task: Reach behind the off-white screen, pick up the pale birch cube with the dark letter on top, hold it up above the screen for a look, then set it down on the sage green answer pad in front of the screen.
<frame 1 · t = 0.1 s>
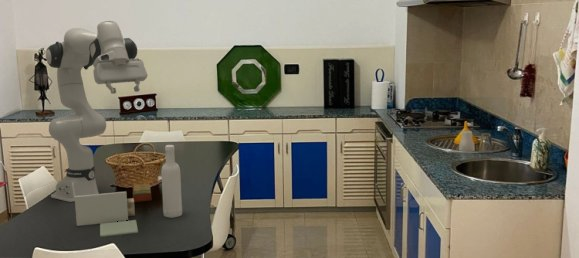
hand: (125, 92, 223), 54 cm above the table, tool tilted 30°, fingers open, 8 cm apart
carton: (142, 197, 275), on the table
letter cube: (127, 214, 249), on the table
screen: (102, 222, 239), on the table
answer pad: (118, 228, 231), on the table
bottle: (172, 215, 248), on the table
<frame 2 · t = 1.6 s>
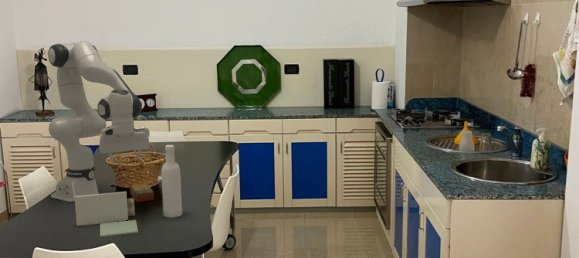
hand: (126, 161, 243), 23 cm above the table, tool pointing down, fingers open, 8 cm apart
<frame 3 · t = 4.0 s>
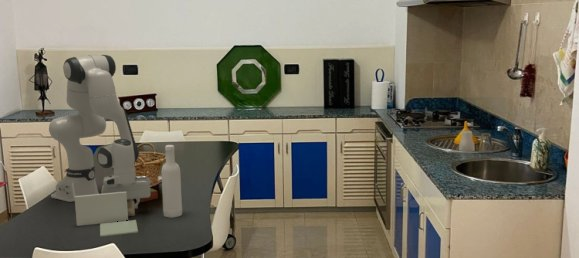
hand: (126, 209, 249), 2 cm above the table, tool pointing down, fingers closed on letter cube, 6 cm apart
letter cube: (127, 214, 249), on the table, touching gripper
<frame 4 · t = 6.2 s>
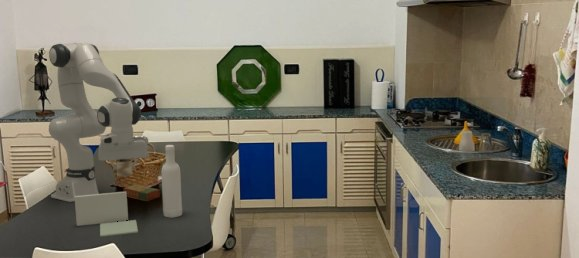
hand: (124, 169, 246), 20 cm above the table, tool pointing down, fingers closed on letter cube, 6 cm apart
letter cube: (124, 174, 246), point 18 cm above the table, touching gripper
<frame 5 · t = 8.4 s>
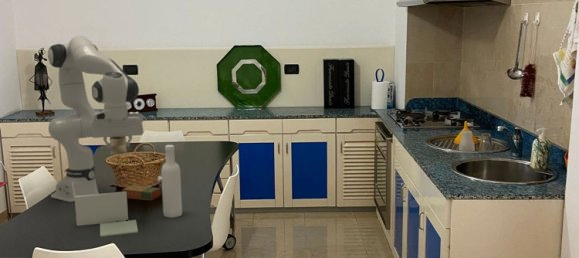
hand: (118, 147, 235), 31 cm above the table, tool pointing down, fingers closed on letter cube, 6 cm apart
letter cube: (118, 152, 235), point 29 cm above the table, touching gripper
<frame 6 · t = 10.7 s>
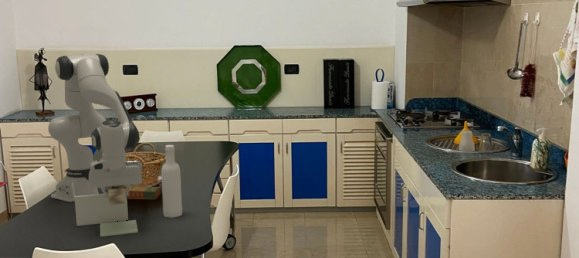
hand: (116, 196, 229), 13 cm above the table, tool pointing down, fingers closed on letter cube, 6 cm apart
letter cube: (117, 201, 229), point 11 cm above the table, touching gripper
when the fingers open (4 cm above the table, at t = 12.7 s): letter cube drops 1 cm, resting on answer pad.
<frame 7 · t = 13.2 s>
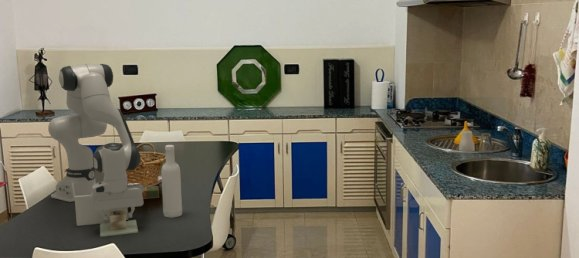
hand: (118, 218, 231), 4 cm above the table, tool pointing down, fingers open, 8 cm apart
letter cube: (118, 227, 231), point 1 cm above the table, touching answer pad
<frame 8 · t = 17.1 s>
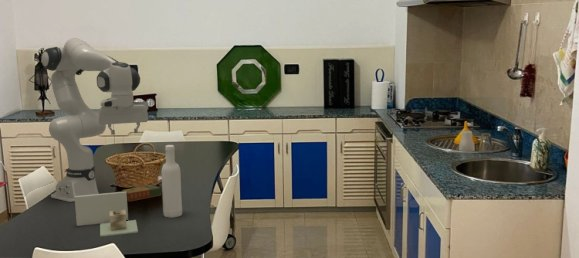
hand: (124, 133, 248), 34 cm above the table, tool pointing down, fingers open, 8 cm apart
at the end: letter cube inside the target area on the answer pad (0.0 cm from its centre), point 0.6 cm above the answer pad's base; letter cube tilted 0°; the gripper is holding nothing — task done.
